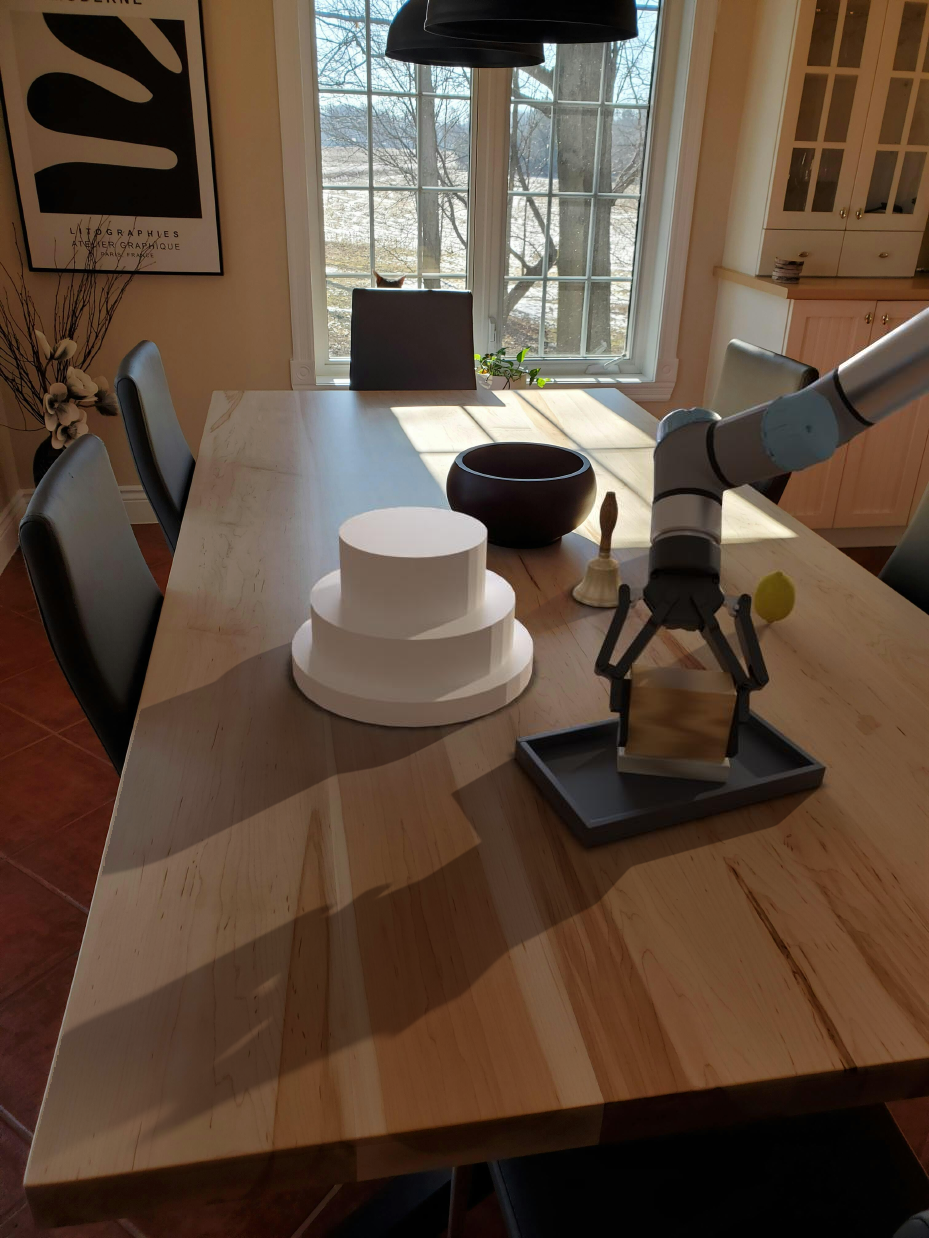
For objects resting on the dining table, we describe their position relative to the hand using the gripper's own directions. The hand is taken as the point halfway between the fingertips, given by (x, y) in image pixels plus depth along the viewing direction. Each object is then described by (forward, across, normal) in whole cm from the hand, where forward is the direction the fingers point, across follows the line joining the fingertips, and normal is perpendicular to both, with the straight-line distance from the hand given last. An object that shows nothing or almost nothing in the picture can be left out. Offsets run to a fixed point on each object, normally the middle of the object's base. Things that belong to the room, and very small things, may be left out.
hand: (676, 749), depth 90 cm
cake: (-11, +31, -18) cm, 37 cm away
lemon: (-26, -16, -32) cm, 45 cm away
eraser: (0, 0, -5) cm, 5 cm away
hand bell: (-29, +7, -36) cm, 47 cm away
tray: (+1, 0, -5) cm, 5 cm away
